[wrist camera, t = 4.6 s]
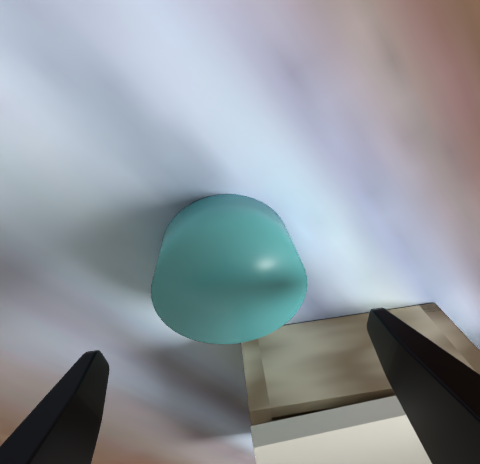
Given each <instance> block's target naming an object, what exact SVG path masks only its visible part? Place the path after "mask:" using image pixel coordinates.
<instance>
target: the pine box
mask: <svg viewBox="0 0 480 464" xmlns="http://www.w3.org/2000/svg"><path fill="white" fill-rule="evenodd" d="M388 311H389V312H391V313H392V314H393V315H395V316H396V317H398V318H399V319H401V320H402V321H404V322H405V323H406V324H408V325H409V326H411V327H412V328H414V329H415V330H417V331H418V332H419V333H421V334H422V335H424V336H425V337H427V338H428V339H429V340H431V341H432V342H434V343H435V344H437V345H438V346H440V347H441V348H442V349H444V350H445V351H447V352H448V353H450V354H451V355H453V356H454V357H455V358H457V359H458V360H460V361H461V362H463V363H464V364H466V365H467V366H468V367H470V368H471V369H473V370H474V371H476V372H477V373H479V374H480V351H479V350H478V348H477V347H476V346H475V345H474V344H473V343H472V342H471V341H470V340H469V339H468V338H467V337H466V336H465V335H464V333H463V332H462V331H461V330H460V329H459V328H458V327H457V326H456V325H455V324H454V323H453V322H452V321H451V320H450V318H449V317H448V316H447V315H446V314H445V313H444V312H443V311H442V310H441V309H440V308H439V307H438V306H437V305H436V303H430V304H424V305H417V306H410V307H404V308H397V309H390V310H388ZM368 316H369V313H364V314H357V315H350V316H344V317H337V318H330V319H324V320H317V321H311V322H304V323H297V324H291V325H284V326H281V327H280V328H279V329H277V330H275V331H274V332H272V333H270V334H268V335H266V336H263V337H261V338H258V339H255V340H251V341H248V342H242V343H241V346H242V355H243V363H244V372H245V381H246V389H247V398H248V407H249V414H250V419H251V425H252V426H254V425H259V424H264V423H268V422H273V421H278V420H282V419H287V418H292V417H297V416H301V415H306V414H311V413H315V412H320V411H325V410H330V409H334V408H339V407H344V406H349V405H353V404H358V403H363V402H367V401H372V400H377V399H382V398H386V397H391V396H396V395H395V393H394V391H393V389H392V387H391V385H390V383H389V381H388V379H387V377H386V375H385V373H384V371H383V368H382V366H381V363H380V361H379V359H378V356H377V354H376V351H375V349H374V346H373V344H372V341H371V339H370V336H369V334H368V331H367V321H368Z"/></svg>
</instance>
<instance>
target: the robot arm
mask: <svg viewBox="0 0 480 464" xmlns="http://www.w3.org/2000/svg"><path fill="white" fill-rule="evenodd" d="M367 331H368V334H369V336H370V339H371V341H372V344H373V346H374V349H375V351H376V354H377V356H378V359H379V361H380V363H381V366H382V368H383V371H384V373H385V375H386V377H387V379H388V381H389V383H390V385H391V387H392V389H393V391H394V393H395V395H396V397H397V399H398V401H399V402H400V404H401V406H402V408H403V410H404V412H405V414H406V416H407V418H408V419H409V421H410V423H411V425H412V427H413V429H414V431H415V433H416V435H417V436H418V438H419V440H420V442H421V444H422V446H423V448H424V450H425V451H426V453H427V455H428V457H429V459H430V461H431V463H432V464H480V374H479V373H477V372H476V371H474V370H473V369H471V368H470V367H468V366H467V365H466V364H464V363H463V362H461V361H460V360H458V359H457V358H455V357H454V356H453V355H451V354H450V353H448V352H447V351H445V350H444V349H442V348H441V347H440V346H438V345H437V344H435V343H434V342H432V341H431V340H429V339H428V338H427V337H425V336H424V335H422V334H421V333H419V332H418V331H417V330H415V329H414V328H412V327H411V326H409V325H408V324H406V323H405V322H404V321H402V320H401V319H399V318H398V317H396V316H395V315H393V314H392V313H391V312H389V311H388V310H386V309H384V308H376V309H371V310H370V312H369V316H368V321H367ZM108 376H109V364H108V362H107V361H106V359H105V358H104V356H103V354H102V353H101V352H100V351H99V350H95V351H88V352H86V353H84V354H83V355H82V356H81V357H80V358H79V360H78V361H77V362H76V363H75V364H74V365H73V366H72V367H71V368H70V370H69V371H68V372H67V373H66V374H65V375H64V376H63V377H62V378H61V380H60V381H59V382H58V383H57V384H56V385H55V386H54V387H53V388H52V390H51V391H50V392H49V393H48V394H47V395H46V396H45V397H44V398H43V400H42V401H41V402H40V403H39V404H38V405H37V406H36V407H35V408H34V410H33V411H32V412H31V413H30V414H29V415H28V416H27V417H26V418H25V420H24V421H23V422H22V423H21V424H20V425H19V426H18V427H17V428H16V430H15V431H14V432H13V433H12V434H11V435H10V436H9V437H8V438H7V440H6V441H5V442H4V443H3V444H2V445H1V446H0V464H91V461H92V457H93V453H94V449H95V446H96V442H97V438H98V434H99V430H100V425H101V421H102V415H103V409H104V403H105V396H106V389H107V383H108Z"/></svg>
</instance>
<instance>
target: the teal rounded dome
mask: <svg viewBox="0 0 480 464" xmlns="http://www.w3.org/2000/svg"><path fill="white" fill-rule="evenodd" d="M306 291H307V275H306V271H305V268H304V266H303V264H302V262H301V259H300V257H299V255H298V253H297V251H296V248H295V246H294V244H293V242H292V240H291V238H290V235H289V233H288V231H287V229H286V227H285V225H284V223H283V221H282V220H281V218H280V217H279V216H278V214H277V213H276V212H275V211H274V210H273V209H271V208H270V207H269V206H267V205H266V204H264V203H263V202H261V201H258V200H256V199H254V198H250V197H247V196H242V195H236V194H222V195H214V196H209V197H206V198H203V199H200V200H198V201H196V202H193V203H191V204H190V205H188V206H187V207H185V208H184V209H182V210H181V211H180V212H179V213H178V214H177V215H176V216H175V217H174V218H173V219H172V221H171V222H170V224H169V225H168V227H167V229H166V232H165V234H164V238H163V242H162V246H161V250H160V253H159V257H158V261H157V265H156V269H155V273H154V277H153V281H152V285H151V298H152V303H153V306H154V308H155V310H156V312H157V314H158V316H159V317H160V318H161V320H162V321H163V322H164V323H165V324H166V325H167V326H168V327H170V328H171V329H172V330H174V331H175V332H177V333H179V334H180V335H182V336H185V337H187V338H190V339H192V340H195V341H200V342H204V343H211V344H236V343H242V342H248V341H251V340H255V339H258V338H261V337H263V336H266V335H268V334H270V333H272V332H274V331H275V330H277V329H279V328H280V327H281V326H283V325H284V324H286V323H287V322H288V321H289V320H290V319H291V318H292V317H293V316H294V315H295V314H296V312H297V311H298V309H299V308H300V307H301V305H302V303H303V301H304V298H305V295H306Z"/></svg>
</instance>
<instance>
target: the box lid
mask: <svg viewBox="0 0 480 464" xmlns="http://www.w3.org/2000/svg"><path fill="white" fill-rule="evenodd" d="M250 428H251V434H252V441H253V448H254V453H255V458H256V464H432V463H431V461H430V459H429V457H428V455H427V453H426V451H425V450H424V448H423V446H422V444H421V442H420V440H419V438H418V436H417V435H416V433H415V431H414V429H413V427H412V425H411V423H410V421H409V419H408V418H407V416H406V414H405V412H404V410H403V408H402V406H401V404H400V402H399V401H398V399H397V397H396V396H391V397H386V398H382V399H377V400H372V401H367V402H363V403H358V404H353V405H349V406H344V407H339V408H334V409H330V410H325V411H320V412H315V413H311V414H306V415H301V416H297V417H292V418H287V419H282V420H278V421H273V422H268V423H264V424H259V425H254V426H250Z"/></svg>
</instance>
